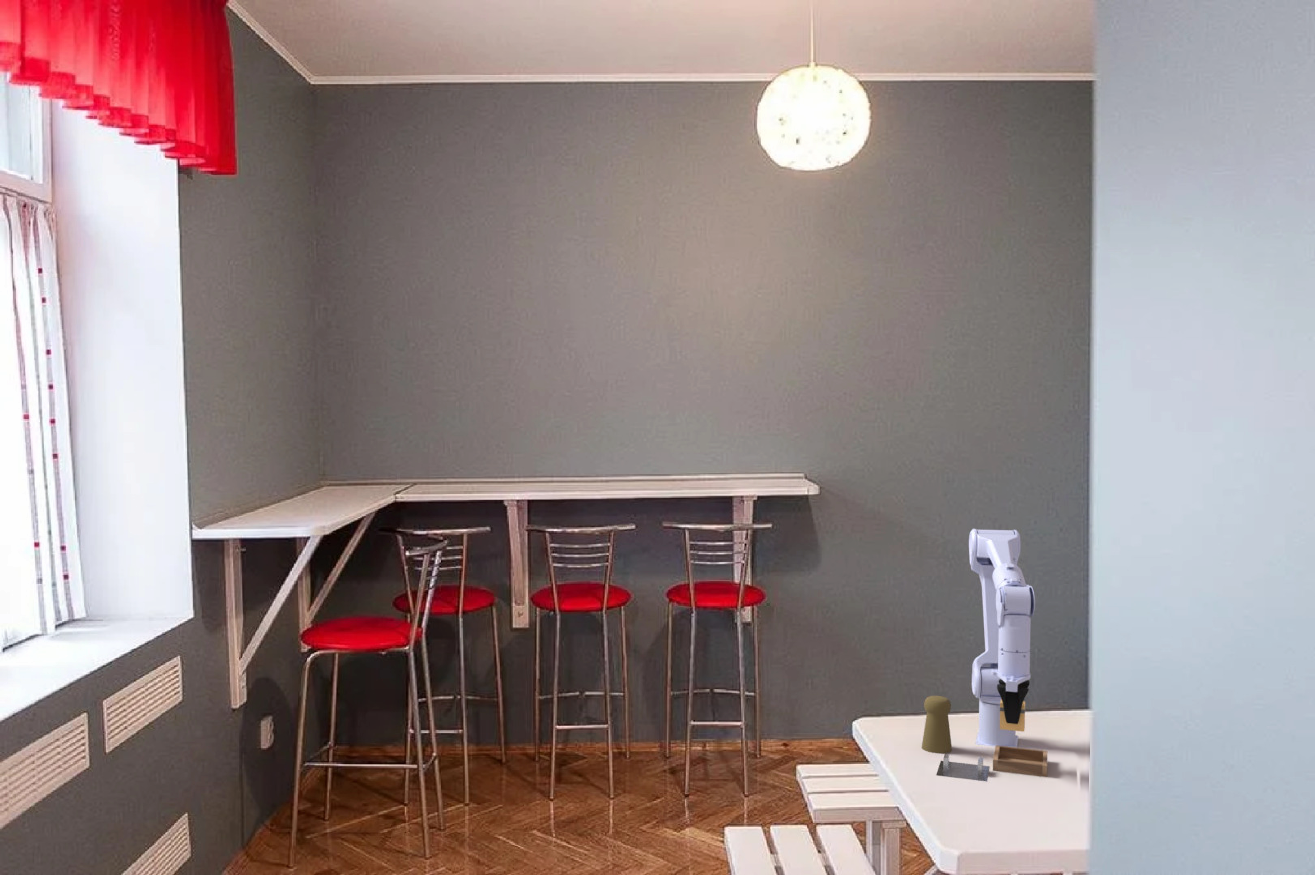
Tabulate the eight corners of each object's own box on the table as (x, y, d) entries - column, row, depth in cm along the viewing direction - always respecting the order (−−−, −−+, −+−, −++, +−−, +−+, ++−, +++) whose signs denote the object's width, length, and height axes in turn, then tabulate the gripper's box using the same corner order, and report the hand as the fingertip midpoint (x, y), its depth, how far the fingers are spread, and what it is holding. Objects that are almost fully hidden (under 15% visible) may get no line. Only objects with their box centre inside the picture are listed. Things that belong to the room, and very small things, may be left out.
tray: (995, 758, 216) (995, 745, 216) (1047, 764, 213) (1047, 751, 213) (992, 773, 207) (992, 760, 207) (1046, 780, 204) (1047, 766, 204)
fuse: (1000, 725, 212) (1000, 699, 211) (1025, 727, 210) (1025, 701, 210) (999, 729, 209) (999, 703, 209) (1024, 731, 207) (1024, 705, 207)
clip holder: (940, 763, 213) (941, 748, 213) (989, 769, 210) (989, 753, 209) (936, 778, 204) (936, 762, 204) (986, 784, 201) (987, 768, 201)
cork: (953, 757, 217) (954, 701, 216) (921, 755, 218) (922, 699, 218) (951, 748, 223) (952, 694, 222) (920, 746, 224) (921, 692, 223)
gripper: (994, 640, 217) (993, 708, 218) (989, 655, 204) (988, 728, 204) (1032, 643, 215) (1030, 712, 215) (1029, 659, 201) (1028, 733, 202)
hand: (1012, 720), depth 209 cm, fingers closed on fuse, 3 cm apart
